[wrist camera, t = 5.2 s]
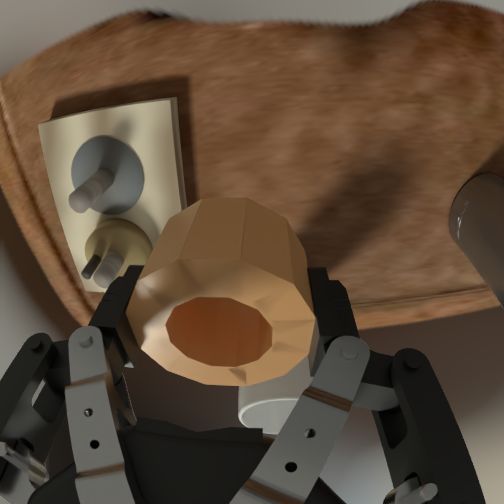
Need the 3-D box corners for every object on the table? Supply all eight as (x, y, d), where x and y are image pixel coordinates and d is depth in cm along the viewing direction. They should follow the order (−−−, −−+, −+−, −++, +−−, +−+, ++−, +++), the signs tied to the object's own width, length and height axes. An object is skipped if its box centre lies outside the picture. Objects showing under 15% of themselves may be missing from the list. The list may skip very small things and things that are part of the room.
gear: (309, 198, 12) (326, 260, 8) (297, 318, 15) (303, 385, 12) (146, 200, 12) (105, 257, 9) (171, 315, 16) (152, 379, 12)
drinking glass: (323, 284, 33) (347, 412, 20) (281, 319, 36) (286, 440, 23) (274, 250, 30) (279, 387, 18) (233, 292, 33) (219, 420, 21)
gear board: (176, 97, 22) (147, 109, 17) (197, 283, 33) (185, 333, 27) (49, 119, 23) (2, 141, 17) (92, 279, 33) (67, 322, 28)
